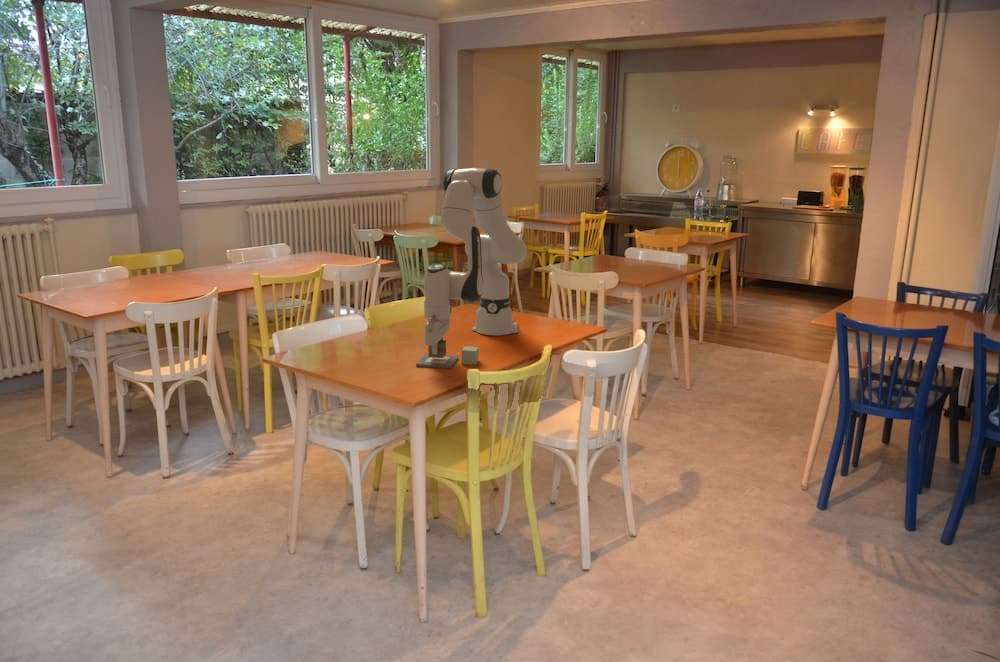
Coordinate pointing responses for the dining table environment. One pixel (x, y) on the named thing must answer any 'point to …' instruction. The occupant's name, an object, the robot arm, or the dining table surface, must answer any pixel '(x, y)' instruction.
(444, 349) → the walnut block
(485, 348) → the dining table surface
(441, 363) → the base plate
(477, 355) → the sage block
